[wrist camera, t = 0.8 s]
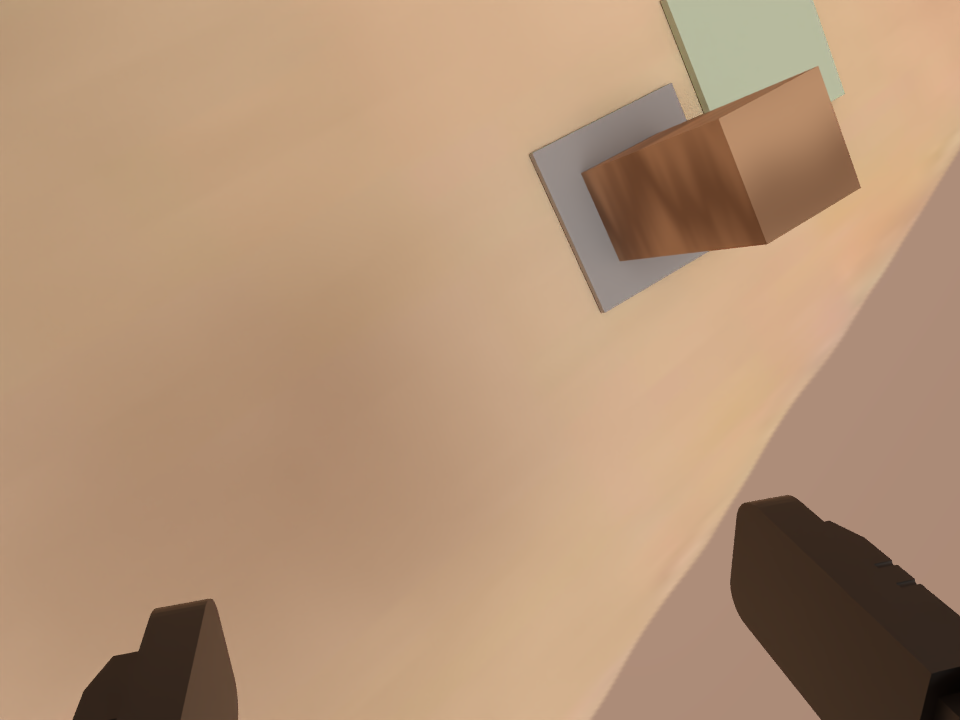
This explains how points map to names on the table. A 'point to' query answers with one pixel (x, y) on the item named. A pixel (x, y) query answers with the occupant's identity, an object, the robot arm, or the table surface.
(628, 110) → the tile
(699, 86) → the sage mat
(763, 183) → the walnut block
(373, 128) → the table surface
